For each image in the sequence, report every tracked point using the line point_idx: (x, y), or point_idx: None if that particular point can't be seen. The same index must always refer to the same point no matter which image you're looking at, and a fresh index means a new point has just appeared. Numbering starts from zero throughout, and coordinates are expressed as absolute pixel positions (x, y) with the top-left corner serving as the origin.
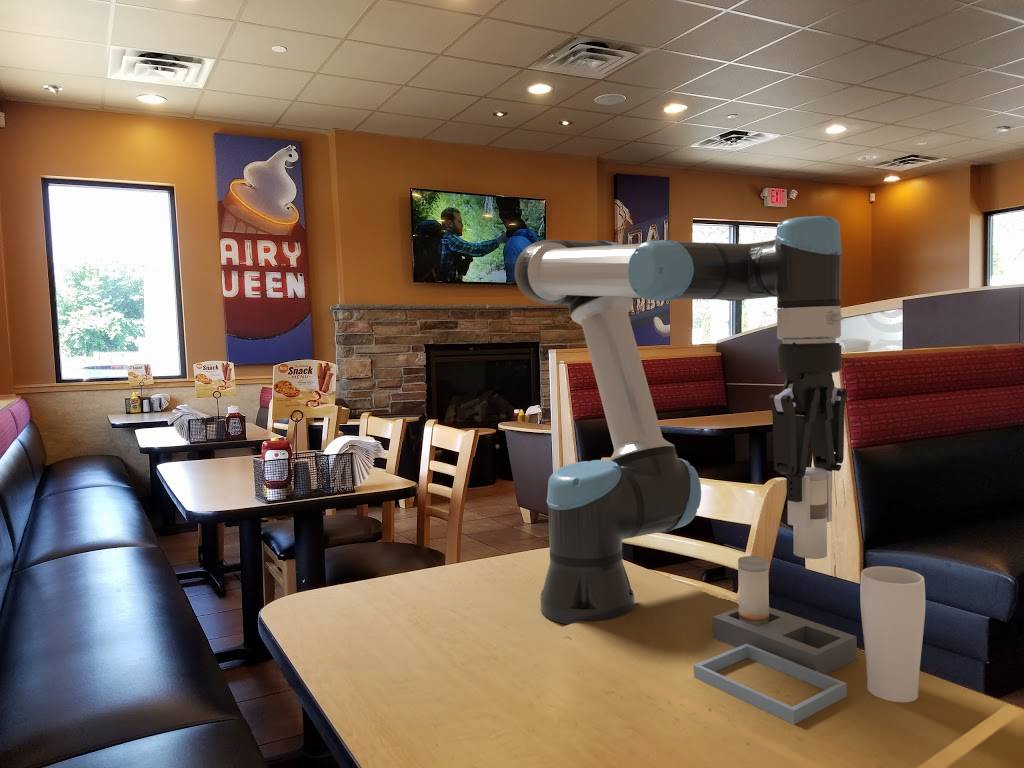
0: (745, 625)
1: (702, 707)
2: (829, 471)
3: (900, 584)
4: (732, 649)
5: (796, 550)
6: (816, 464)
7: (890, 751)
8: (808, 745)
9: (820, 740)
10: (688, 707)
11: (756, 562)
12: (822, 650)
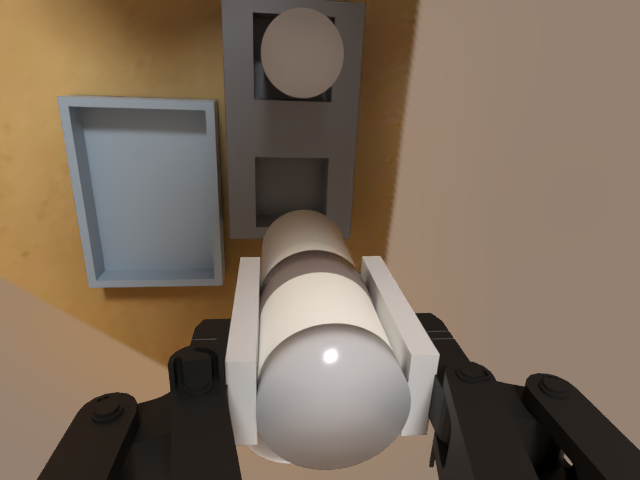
0: (239, 78)
1: (33, 154)
2: (421, 429)
3: (255, 452)
4: (171, 100)
5: (264, 240)
6: (443, 389)
7: (168, 353)
8: (94, 298)
9: (117, 300)
10: (11, 140)
11: (294, 73)
12: (256, 235)
